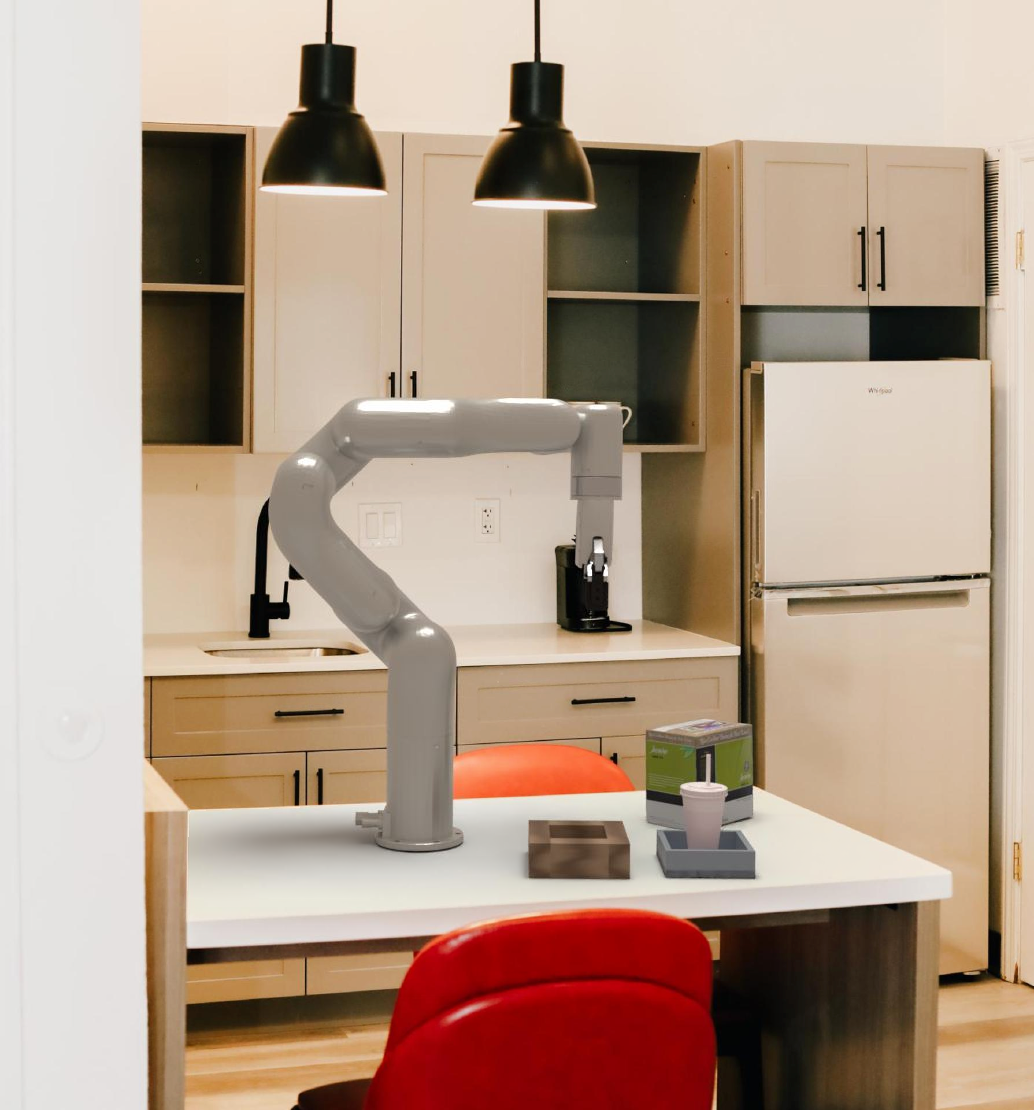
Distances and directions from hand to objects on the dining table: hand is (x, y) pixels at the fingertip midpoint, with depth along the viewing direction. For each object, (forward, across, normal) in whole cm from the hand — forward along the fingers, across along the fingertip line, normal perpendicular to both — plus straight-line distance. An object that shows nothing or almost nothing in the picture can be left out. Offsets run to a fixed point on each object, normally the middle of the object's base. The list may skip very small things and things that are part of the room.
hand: (594, 607), depth 196 cm
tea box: (+34, -10, +17) cm, 39 cm away
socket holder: (+33, +17, -3) cm, 38 cm away
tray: (+33, +17, +14) cm, 40 cm away
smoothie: (+32, +17, +14) cm, 39 cm away
